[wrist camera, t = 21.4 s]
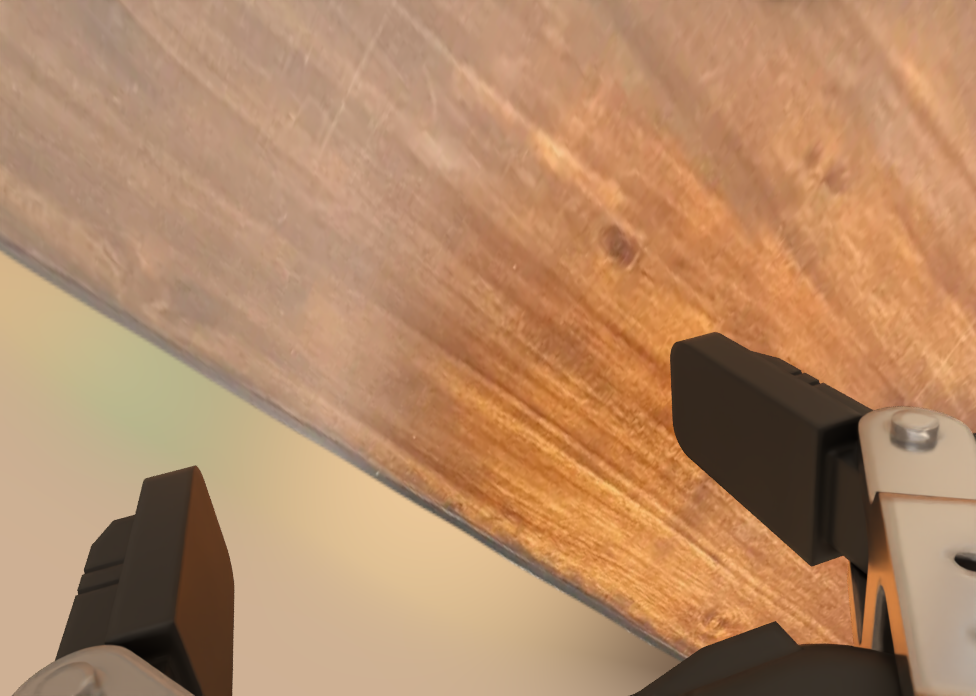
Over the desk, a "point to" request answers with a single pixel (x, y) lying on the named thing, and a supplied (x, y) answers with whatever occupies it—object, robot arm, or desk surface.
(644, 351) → the desk surface
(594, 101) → the desk surface
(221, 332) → the desk surface
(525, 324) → the desk surface
